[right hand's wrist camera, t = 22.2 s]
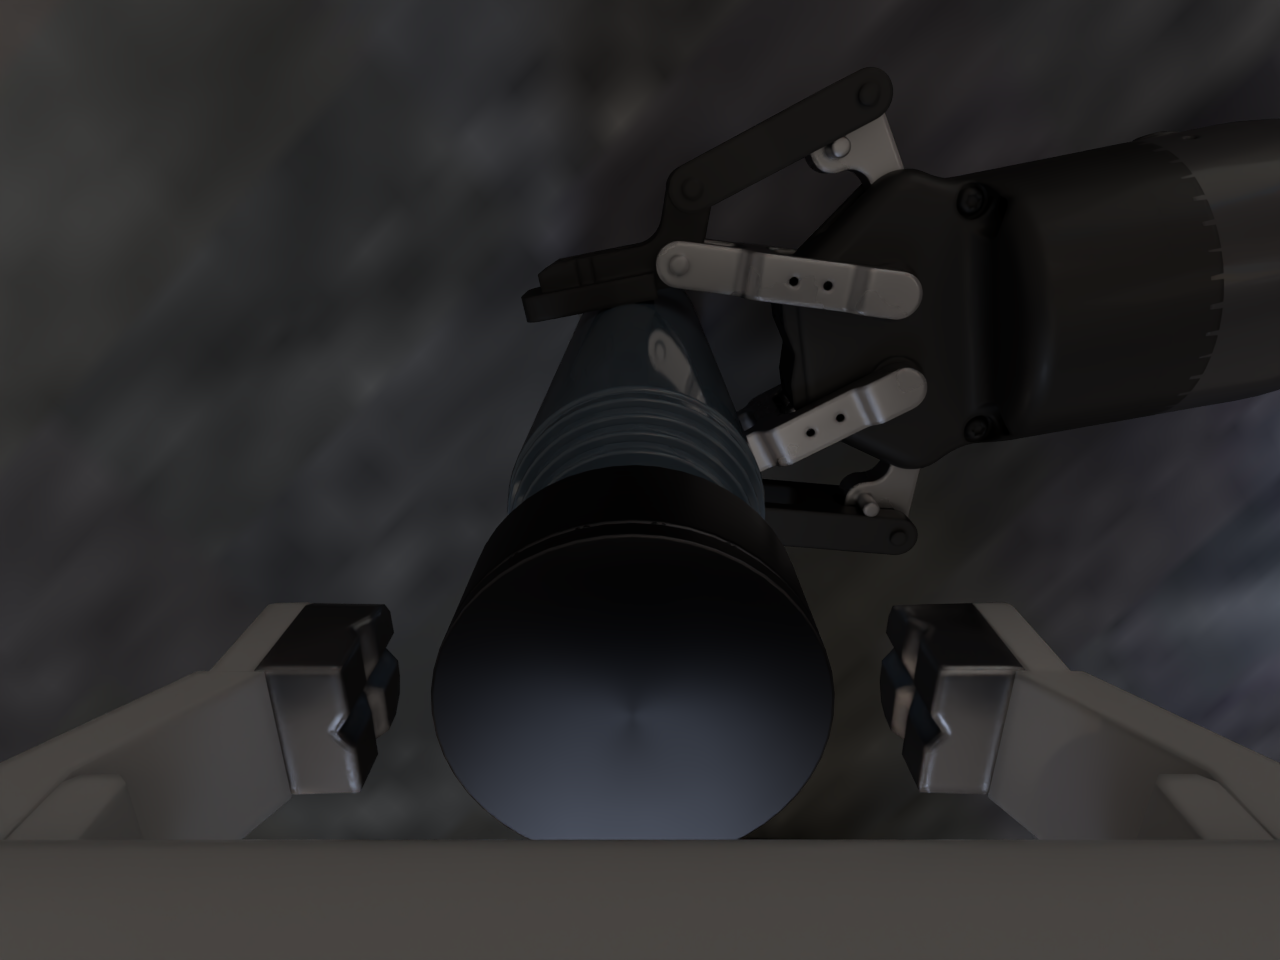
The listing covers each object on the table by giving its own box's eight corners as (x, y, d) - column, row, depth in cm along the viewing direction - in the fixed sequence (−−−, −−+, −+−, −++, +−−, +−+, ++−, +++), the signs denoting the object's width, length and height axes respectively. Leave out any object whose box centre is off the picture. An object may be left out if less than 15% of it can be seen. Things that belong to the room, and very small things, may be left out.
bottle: (713, 368, 29) (866, 774, 9) (604, 404, 29) (526, 860, 10) (677, 254, 27) (770, 446, 8) (563, 294, 28) (370, 571, 8)
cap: (580, 789, 11) (566, 912, 9) (403, 561, 10) (346, 652, 8) (851, 667, 10) (899, 776, 8) (702, 399, 9) (719, 457, 7)
